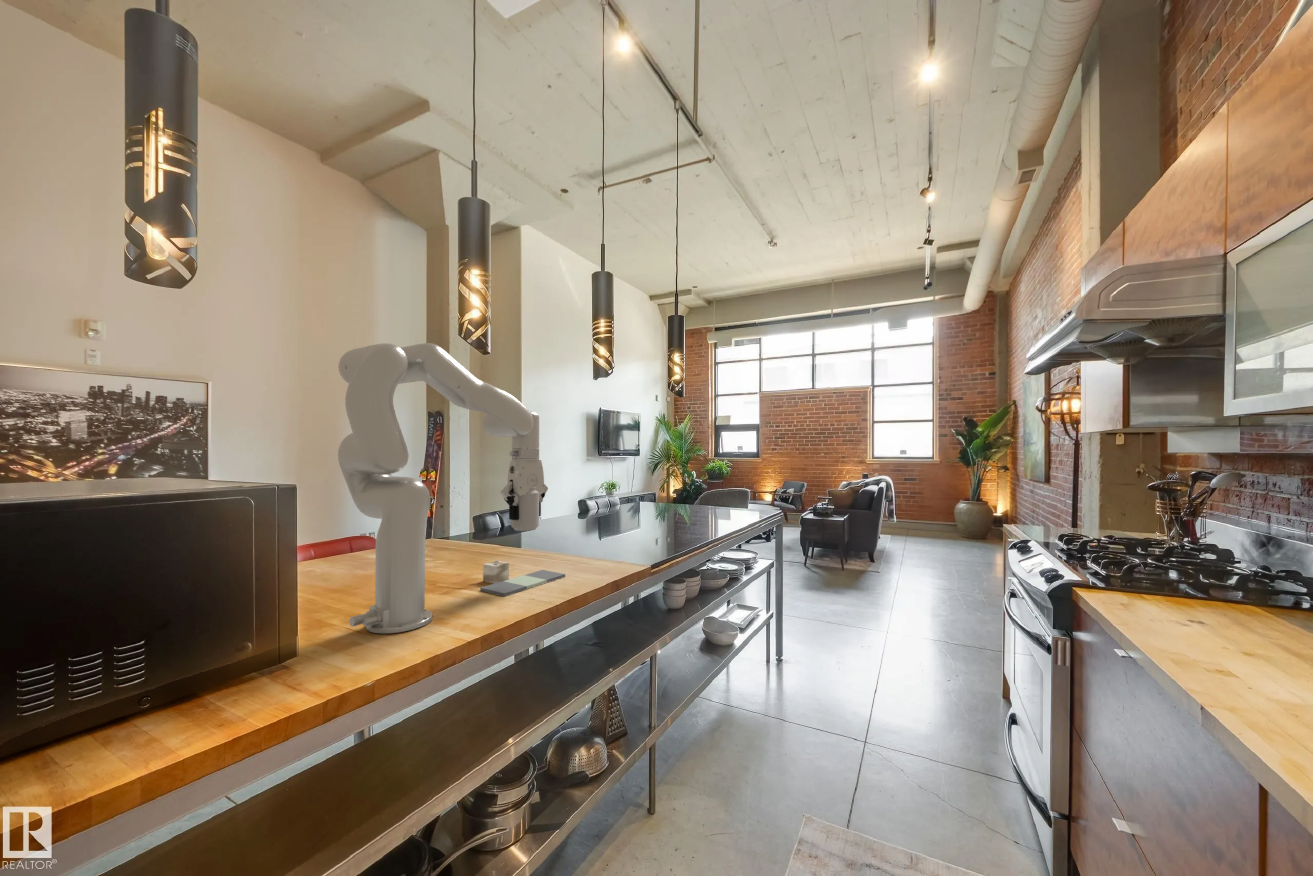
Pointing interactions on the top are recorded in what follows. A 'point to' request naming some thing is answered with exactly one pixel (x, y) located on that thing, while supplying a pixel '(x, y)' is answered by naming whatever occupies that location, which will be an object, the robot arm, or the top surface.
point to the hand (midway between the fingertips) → (525, 517)
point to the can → (527, 512)
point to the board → (521, 582)
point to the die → (495, 572)
